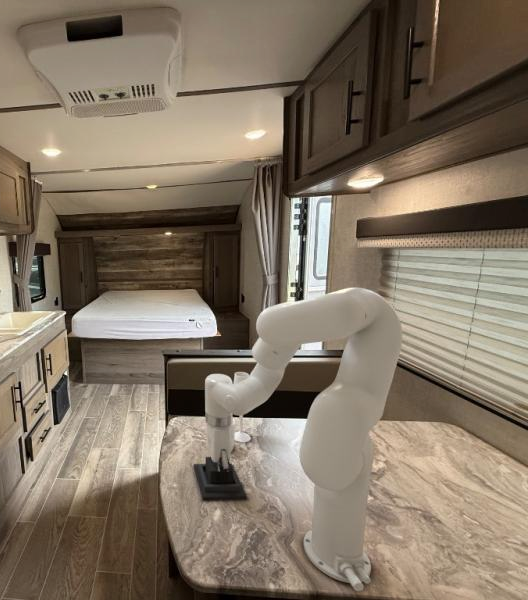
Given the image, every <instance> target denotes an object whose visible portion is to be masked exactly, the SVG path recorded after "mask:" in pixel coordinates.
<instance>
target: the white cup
mask: <svg viewBox="0 0 528 600" xmlns="http://www.w3.org/2000/svg"><path fill="white" fill-rule="evenodd" d="M229 430H230V451H231V452H233V450H234V446H235V440H234V437H235V432H236V420H235V418H234V417H232V426H231V427H230V428H229Z"/></svg>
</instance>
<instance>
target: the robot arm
mask: <svg viewBox="0 0 528 600" xmlns="http://www.w3.org/2000/svg"><path fill="white" fill-rule="evenodd" d="M255 326H256V327H255V329H256V333H257V335H258V338H257V340H256V341H255V343H254V345H253V346H252V348H251V356H252V358H253V359H254V360H255V362H256V365H255V366H254V368H253V369H252V370H251V372H250V374H249V377H248V378H247V379H244V380H242V381H240V382H238V383H236V384H234V383H233V380H232V378H231V377H230V376H229V375H227V374H224V373H211V374H209V375H207V376H206V378H205V379H204V405H205V406H204V413H205V415H204V417H205V418H204V419H205V424H206V436H205V437H206V439H205V444H206V447H207V451H208V453H209V457H211V459H212V460H213V462H217V469H218V470H216V482H217V483H218V484H224V483H228V469H229V467H228V462H230V461H231V452H232V451H230V430H229V428H230V427H231V426H232V418H233V415H234V416H241V415H243V416H244V415H246V414H248V413H249V412H251V411H253V410H254V409H256V408H258V407H259V406H261V405H262V404H264V403H265V402H267V401H268V400H269V399H270V397H271V396H272V395H273V393H274V392H275V390H276V389H277V388H278V386H279V385H280V384H281V382H282V379H283V377H284V374H285V371H286V368H287V366H288V365H289V363H290V362H291V361H292V359H293V357H294V356H295V355H296V353H297V352H298V351H299V349H300V348H301V346H303V345H305V344H306V345H307V344H315V343H323V342H332V341H337V340H340V339H341V340H342V339H346V338H348V339H347V342H346V344H345V347H344V350H343V351H342V352H343V353H342V355H341V359H340V364H339V367H338V370H337V374H336V376H335V379H334V380H333V382H332V383H331V384H329V386H327V387H326V388H325V389H324V390H322V391H321V392H320V393H319V394H317V395H316V397H315V398H314V400H313V402H312V404H311V406H310V408H309V410H308V414H307V419H306V423H305V427H304V429H303V434H302V438H301V441H300V446H299V451H298V453H299V455H298V457H299V462H300V463H299V464H300V465H301V468H302V471H303V472H304V474H305V476H306V477H307V478H308V479H309V480H310V482H312V483H313V484H314V488H313V503H312V504H313V505H312V507H313V508H312V523H311V524H312V525H311V529H310V530H308V531H306V533H305V535H304V537H303V549H304V552H305V554H306V556H307V558H308V559H309V560H310V562H311V563H312V564H313V565H314V566H315V567H316V568H317V569H318V570H319V571H321V572H322V573H323V574H325V575H327V576H329V577H330V578H332V579H335V580H337V581H338V582H339V581H340V582H342V583H345V584H346V583H347V584H350V586H351V587H352V588H353V590H354V591H355V592H361V591H363V590H364V588H365V587H364V584H366V585H369V584H371V583H372V579H371V578H370V576H371V572H372V571H371V570H372V563H371V560H370V558H369V556H368V554H367V553H366V551H365V550H364V543H365V534H366V533H365V531H366V522H367V521H366V520H367V506H368V497H369V488H370V481H371V476H372V471H373V465H374V460H375V459H374V458H375V447H374V442H373V439H372V437H371V435H370V432H371V431H372V430H373V429H374V427H376V425H377V424H378V422H380V420H381V419H382V417H383V415H384V411H385V406H386V403H387V399H388V395H389V393H390V389H391V386H392V382H393V379H394V375H395V373H396V368H397V364H398V360H399V357H400V354H401V351H402V345H403V344H402V343H403V326H402V322H401V319H400V317H399V315H398V313H397V311H396V310H395V308H394V307H393V306H392V304H391V303H390V302H388V300H386V299H385V298H384V297H382V296H381V295H380V294H379V293H376V292H375V291H373V290H371V289H367V288H364V287H363V288H362V287H346V288H343V289H339V290H336V291H333V292H328V293H325V294H321V295H318V296H317V295H316V296H314V297H311V298H310V297H309V298H305V299H301V300H297V301H285V302H281V303H277V304H274V305H271V306H269V307H266V308H265V309H263V310H262V311H261V312H260V314H259V315H258V316H257V319H256V323H255ZM220 457H221V458H222V459H220ZM227 461H228V462H227ZM219 462H222V466H220V463H219ZM363 583H364V584H363Z"/></svg>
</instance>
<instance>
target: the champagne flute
mask: <svg viewBox="0 0 528 600" xmlns="http://www.w3.org/2000/svg"><path fill="white" fill-rule="evenodd" d="M249 375H250V374H249V373H247V372H245V371H236V372H234V377H233V384H236V383H238V382H240V381H242V380H244V379H247V378H248V377H249ZM238 418H239V420H238V423H239V424H238V425H239V427H238V431H235V437H234V441H235V442H238V443H248V442H250V441H251V440H252V439H251V436H250V435H249V434H248V433H246V432H244V415H241V416H239V417H238Z"/></svg>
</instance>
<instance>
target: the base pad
mask: <svg viewBox="0 0 528 600" xmlns="http://www.w3.org/2000/svg"><path fill="white" fill-rule="evenodd" d="M230 464H231V467H232V469H233V483H224V484H210V481H209V478H208V475H207V472H206V463H193V470H194V473H195V477H196V481H197V484H198V487H199V488H198V489H199V491H200V495H201V499H202V501H227V500H228V501H229V500H234V501H235V500H247V494H246V492H245V490H244V487H243V485H242V484H241V480H240V479H239V476H238V474H237V472H236V470H235V468H234V465H233V463H232V462H231V463H230Z"/></svg>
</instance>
